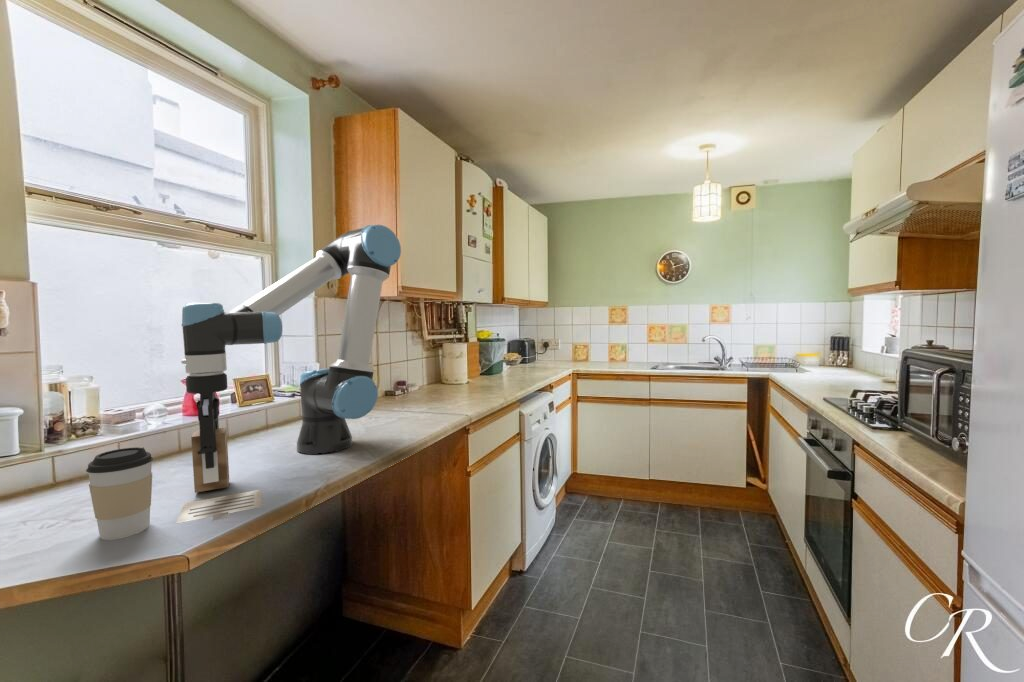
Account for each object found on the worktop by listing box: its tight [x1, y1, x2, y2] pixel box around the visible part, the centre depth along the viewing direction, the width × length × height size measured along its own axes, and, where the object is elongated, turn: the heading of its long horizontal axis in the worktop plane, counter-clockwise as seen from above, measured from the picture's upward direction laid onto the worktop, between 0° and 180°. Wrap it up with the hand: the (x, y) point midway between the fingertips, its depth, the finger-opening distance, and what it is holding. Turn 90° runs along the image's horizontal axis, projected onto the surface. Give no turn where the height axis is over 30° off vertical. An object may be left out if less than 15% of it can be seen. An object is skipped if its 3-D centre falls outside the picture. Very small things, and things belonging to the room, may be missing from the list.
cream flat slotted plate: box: [175, 488, 263, 524], centre depth 92 cm, size 17×15×1 cm
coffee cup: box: [85, 446, 154, 541], centre depth 81 cm, size 9×9×15 cm
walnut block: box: [191, 427, 230, 493], centre depth 101 cm, size 6×6×12 cm
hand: (212, 477), depth 102 cm, fingers closed on walnut block, 6 cm apart
